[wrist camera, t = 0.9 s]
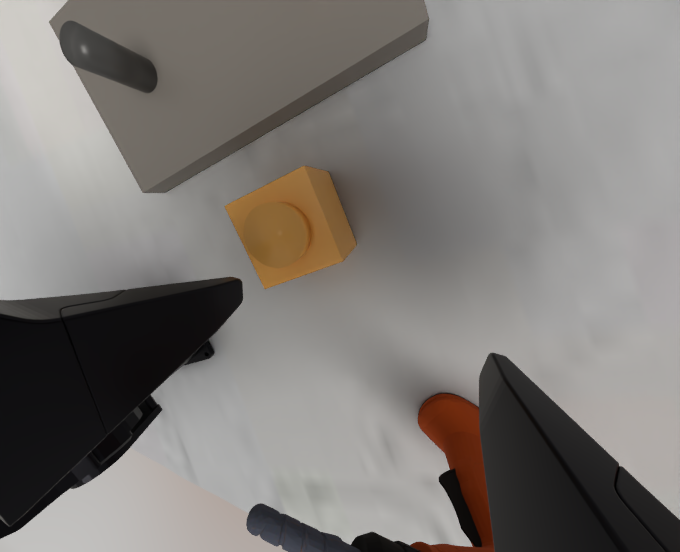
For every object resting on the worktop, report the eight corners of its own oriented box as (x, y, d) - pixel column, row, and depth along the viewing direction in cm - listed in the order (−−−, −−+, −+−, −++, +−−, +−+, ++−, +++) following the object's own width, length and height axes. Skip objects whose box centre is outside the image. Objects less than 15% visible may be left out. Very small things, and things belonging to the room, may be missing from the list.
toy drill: (328, 314, 21) (236, 612, 7) (514, 425, 22) (741, 832, 9) (299, 355, 22) (180, 655, 9) (474, 454, 24) (608, 828, 10)
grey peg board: (164, 192, 22) (84, 193, 17) (82, 37, 20) (-45, -23, 14) (425, 39, 15) (439, -48, 10) (349, -230, 13) (308, -559, 7)
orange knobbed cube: (294, 267, 22) (255, 296, 16) (264, 202, 20) (210, 207, 15) (357, 244, 20) (338, 267, 14) (328, 171, 19) (295, 163, 13)
